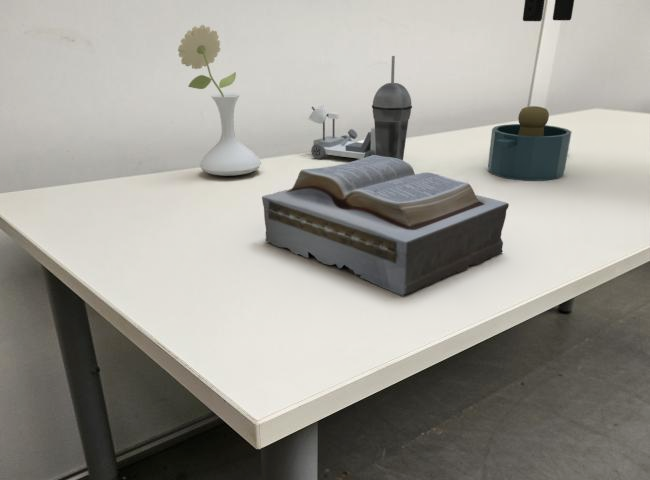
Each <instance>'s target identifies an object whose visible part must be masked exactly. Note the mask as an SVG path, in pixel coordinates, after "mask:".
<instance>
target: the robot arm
mask: <svg viewBox="0 0 650 480" xmlns="http://www.w3.org/2000/svg"><path fill="white" fill-rule="evenodd" d="M574 5H575V0H555V1H554V6H553V13H552V20H553V21H571V20H572V18H573V10H574ZM544 8H545V0H524V7H523V13H522V21H523V22H541V21H542V20H543V15H544Z"/></svg>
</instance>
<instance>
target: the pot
mask: <svg viewBox="0 0 650 480" xmlns="http://www.w3.org/2000/svg"><path fill="white" fill-rule="evenodd" d="M519 130H520V124H519V123H511V124H509V123H508V124H501V125H495V126H494V127H492V129H491V136H490V143H489V144H490V145H489V152H488V159H487V162H488V163H487V171H488V172H489V173H490V174H492V175H494V176H497V177H500V178H505V179H511V180H518V181H532V182H533V181H535V182H536V181H537V182H538V181H539V182H540V181H550V180H551V181H552V180H556V179H560V178H563V176H564V175H565V171H566V167H567V161H568V155H569V150H570V143H571V138H572V133H573V132H572V130H569V129H567V128H565V127H560V126H555V125H548V124H546V125H545V126H544V136H522V135H518V134H519Z"/></svg>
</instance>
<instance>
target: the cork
mask: <svg viewBox="0 0 650 480" xmlns="http://www.w3.org/2000/svg"><path fill="white" fill-rule="evenodd" d="M517 117H518V118H517V120H518V124H520V130H519V134H518V135H522V136H544V126H545V125H548V122H549V117H550V113H549V110H548V109H547V108H545V107H543V106H536V105H531V106H525V107H523V108H522V109H521V110H520V111H519V113H518V116H517Z"/></svg>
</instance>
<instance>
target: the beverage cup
mask: <svg viewBox="0 0 650 480" xmlns="http://www.w3.org/2000/svg"><path fill="white" fill-rule="evenodd" d="M395 60H396V55H392V56H391V68H390V71H391V72H390V82H387V83H385V84H383V85H382V86H380V87H379V88H378V90H377V91H376V92H375V94H374V97H373V100H372V105H371V109H372V116H373V121H374V127H375V143H376V155H377V156H382V157H391V158H397V159H400V160H403V161H404V157H405V156H404V155H405V149H406V148H405V147H406V141H407V134H408V126H409V121H410V117H411V114H412V113H411V112H412V109H413V105H412V98H411V95H410V93H409V90H408V89H407V88H406V87H405V86H404V85H403V84H401V83H399V82H395V66H396V65H395V64H396V63H395V62H396V61H395Z"/></svg>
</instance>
